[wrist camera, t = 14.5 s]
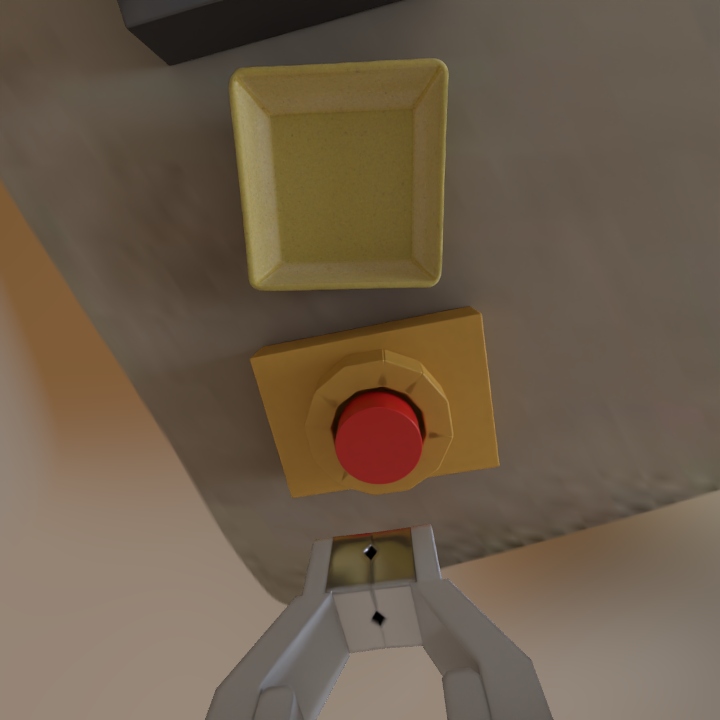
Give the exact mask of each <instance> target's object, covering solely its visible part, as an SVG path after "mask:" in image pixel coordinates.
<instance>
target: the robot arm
mask: <svg viewBox="0 0 720 720" xmlns="http://www.w3.org/2000/svg"><path fill="white" fill-rule="evenodd" d="M412 646H423V648H424V649H425V651H426V652H427V654H428V655H429V657H430V658H431V660H432V661H433V662H434V664H435V666H436V667H437V668H438V670H439V672H440V673H441V675H442V676H443V678H442V682H443V690H444V697H445V704H446V712H447V719H448V720H553V717H552V715H551V712H550V710H549V707H548V704H547V701H546V699H545V696H544V693H543V690H542V688H541V685H540V682H539V680H538V677H537V674H536V671H535V669H534V666H533V663H532V661H531V659H530V658H529V657H528V656H526V654H525V653H524V652H522V651H521V650H520V649H519V648H518V647H517V646H516V645H515V644H514V643H513V642H512V641H511V640H510V639H509V638H508V637H507V636H506V635H505V634H504V633H503V632H502V631H501V630H500V629H499V628H498V627H497V626H496V625H495V624H494V623H493V622H492V621H491V620H490V619H489V618H488V617H487V616H486V615H485V614H484V613H483V612H482V611H480V609H479V608H477V606H476V605H474V604H473V603H472V602H471V601H470V600H469V599H468V598H467V597H466V596H465V595H464V594H463V593H462V592H461V591H460V590H459V589H458V588H457V587H456V586H455V585H454V584H453V583H452V582H451V581H450V580H449V579H442V578H441V573H440V567H439V562H438V557H437V552H436V547H435V541H434V536H433V531H432V526H431V525H430V524H426V525H419V526H413V527H408V528H401V529H394V530H387V531H380V532H373V533H365V534H356V535H347V536H338V537H333V538H323V539H316V540H315V541H314V543H313V545H312V550H311V555H310V559H309V564H308V569H307V573H306V578H305V583H304V587H303V592H302V596H299V597H295V598H294V599H293V601H292V602H291V603H290V604H289V605H288V606H287V608H286V609H285V610H284V611H283V612H282V613H281V615H280V616H279V617H278V618H277V619H276V620H275V621H274V623H273V624H272V625H271V626H270V627H269V628H268V630H267V631H266V632H265V633H264V634H263V635H262V636H261V638H260V639H259V640H258V641H257V642H256V643H255V645H254V646H253V647H252V648H251V649H250V650H249V652H248V653H247V654H246V655H245V656H244V657H243V658H242V660H241V661H240V662H239V663H238V664H237V665H236V667H235V668H234V669H233V670H232V671H231V672H230V674H229V675H228V676H227V677H226V678H225V679H224V681H223V682H222V683H221V684H220V685H219V686H218V687H217V689H216V691H215V694H214V696H213V699H212V702H211V705H210V707H209V710H208V713H207V716H206V718H205V720H316V719H317V718H318V716H319V714H320V712H321V710H322V708H323V706H324V704H325V702H326V700H327V698H328V696H329V695H330V693H331V691H332V689H333V687H334V685H335V683H336V681H337V679H338V677H339V676H340V674H341V672H342V670H343V668H344V666H345V664H346V662H347V660H348V658H349V656H350V655H349V653H355V652H362V651H369V650H376V649H384V648H396V647H412Z"/></svg>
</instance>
